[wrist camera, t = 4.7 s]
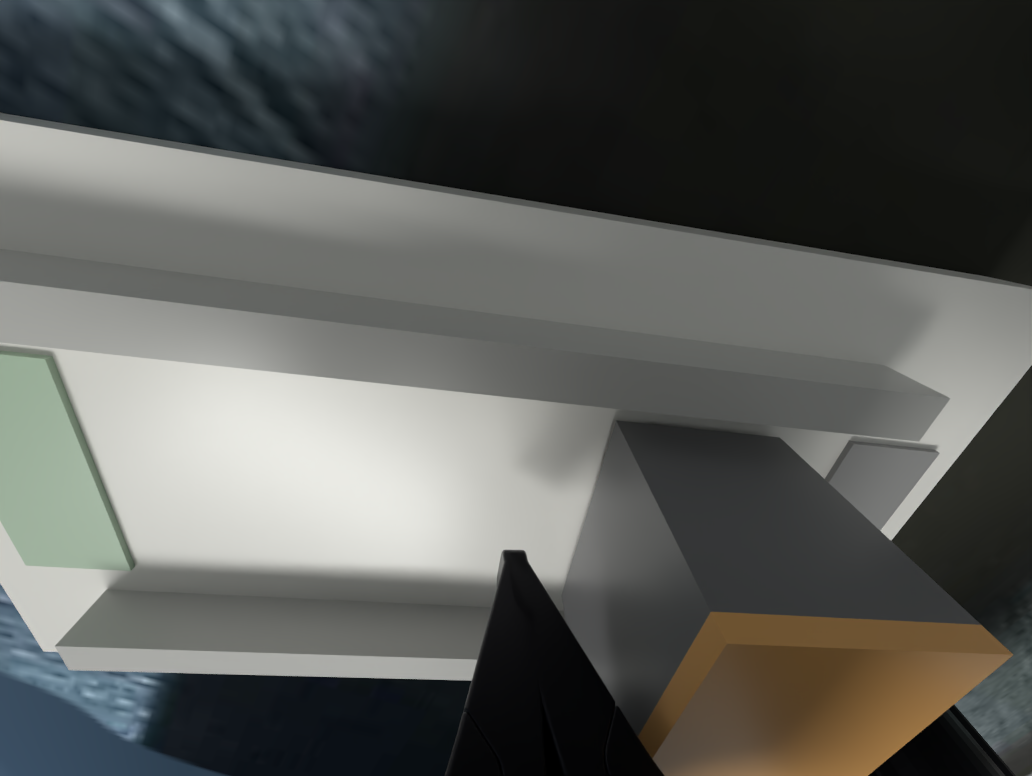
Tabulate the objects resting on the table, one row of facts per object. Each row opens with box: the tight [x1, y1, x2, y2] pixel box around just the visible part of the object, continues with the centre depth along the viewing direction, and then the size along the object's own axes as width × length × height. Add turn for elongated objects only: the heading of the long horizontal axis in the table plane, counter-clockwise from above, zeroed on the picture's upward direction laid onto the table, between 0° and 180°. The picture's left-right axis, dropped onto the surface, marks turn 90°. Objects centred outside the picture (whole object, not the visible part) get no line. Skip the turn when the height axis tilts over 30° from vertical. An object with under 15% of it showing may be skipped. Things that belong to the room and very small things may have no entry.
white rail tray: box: [0, 113, 1032, 680], centre depth 11 cm, size 24×14×4 cm, turn 81°
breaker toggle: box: [561, 420, 1013, 776], centre depth 9 cm, size 4×6×5 cm, turn 171°
